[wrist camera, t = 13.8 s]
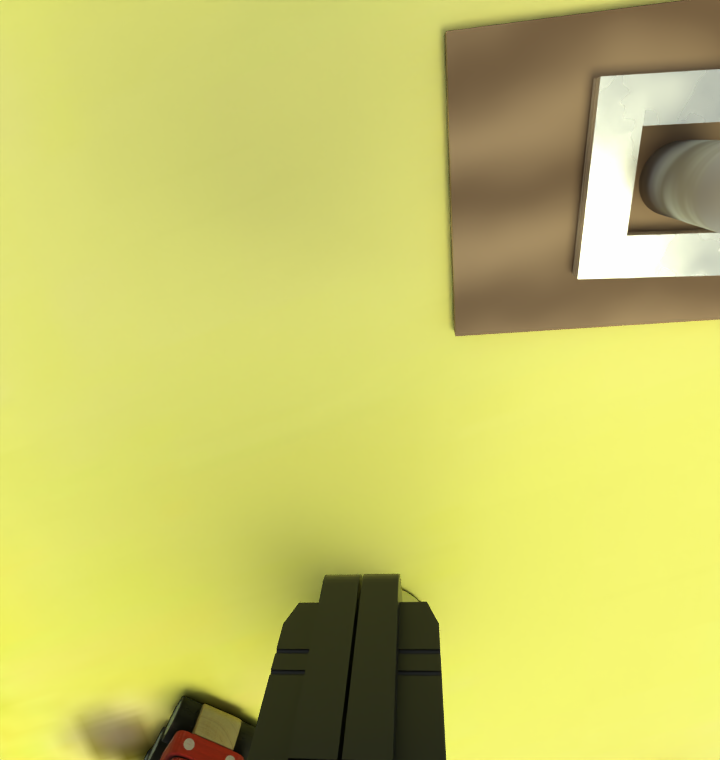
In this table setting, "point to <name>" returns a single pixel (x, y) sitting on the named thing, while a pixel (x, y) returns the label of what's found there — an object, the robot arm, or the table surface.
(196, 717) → the toy fire truck
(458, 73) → the flange base
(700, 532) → the table surface
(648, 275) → the flange plate
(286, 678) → the robot arm
